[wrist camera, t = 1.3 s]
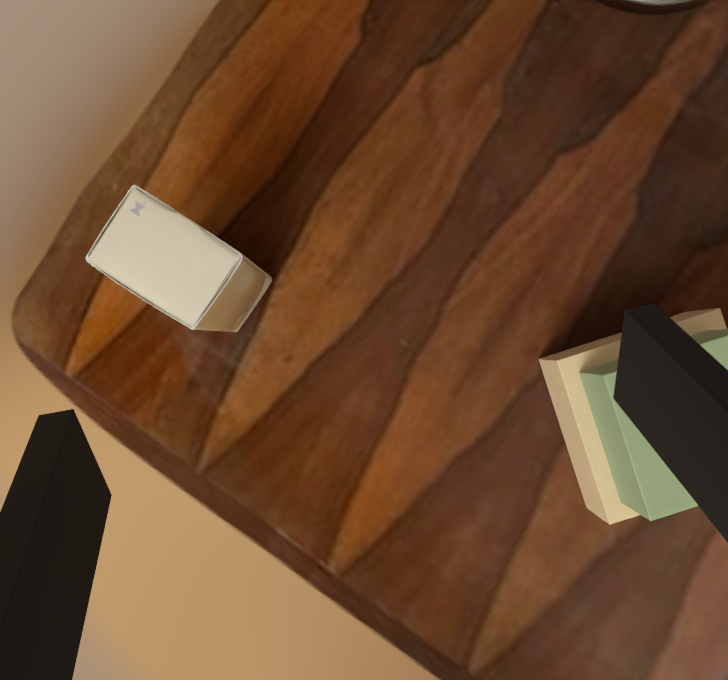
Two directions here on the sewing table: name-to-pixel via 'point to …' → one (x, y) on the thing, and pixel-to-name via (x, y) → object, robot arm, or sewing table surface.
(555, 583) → the sewing table surface
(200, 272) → the cosmetic box
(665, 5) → the robot arm
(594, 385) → the block stack
